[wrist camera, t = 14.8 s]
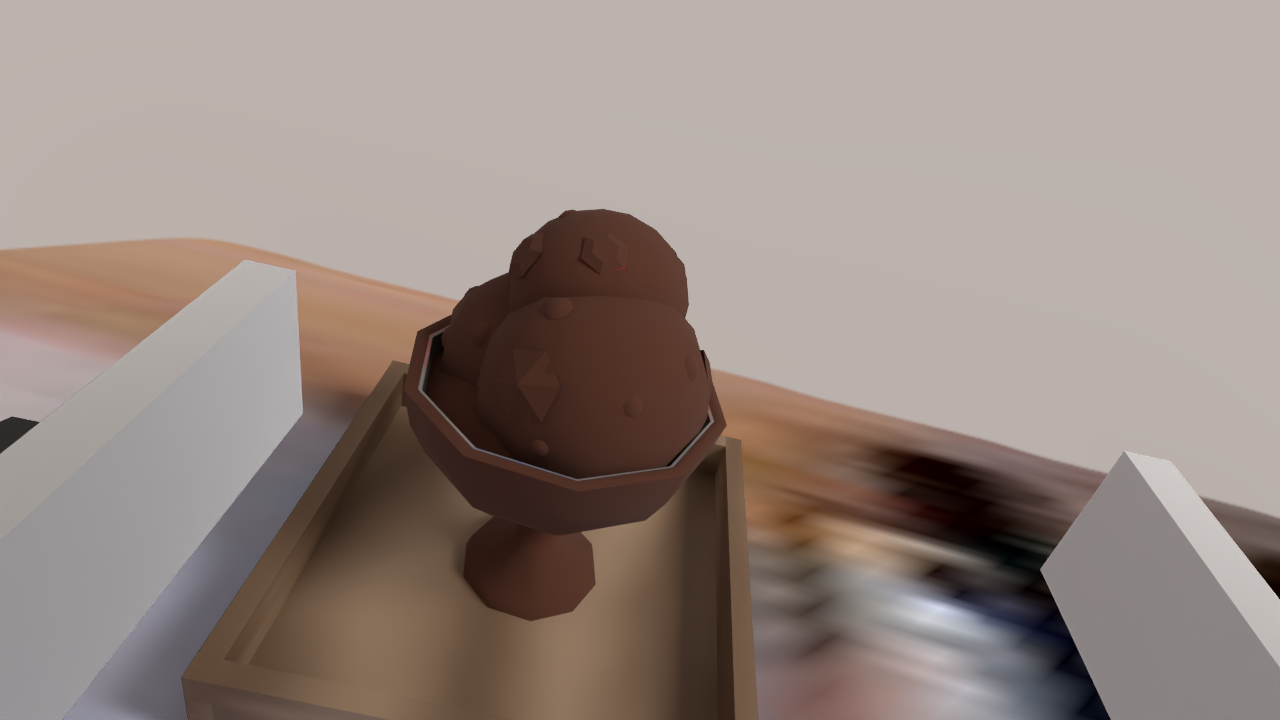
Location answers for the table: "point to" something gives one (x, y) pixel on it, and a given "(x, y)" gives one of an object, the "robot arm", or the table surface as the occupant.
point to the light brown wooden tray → (478, 604)
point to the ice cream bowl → (564, 403)
